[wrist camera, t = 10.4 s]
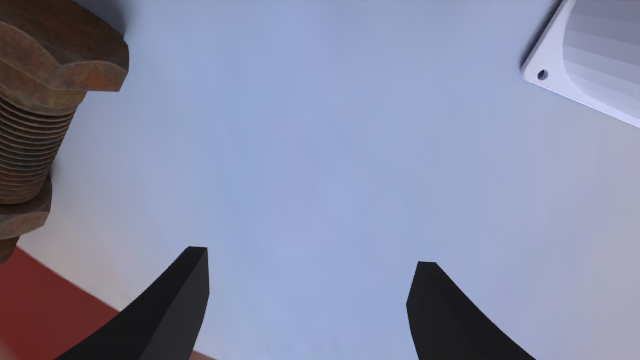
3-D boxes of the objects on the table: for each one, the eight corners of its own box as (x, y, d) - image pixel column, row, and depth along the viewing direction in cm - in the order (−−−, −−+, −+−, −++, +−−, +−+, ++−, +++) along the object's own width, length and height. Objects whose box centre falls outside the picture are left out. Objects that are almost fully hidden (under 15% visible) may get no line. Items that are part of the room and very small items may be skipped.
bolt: (9, 206, 25) (94, 0, 19) (55, 263, 24) (158, 67, 18) (-119, 233, 19) (-60, -41, 13) (-68, 308, 19) (21, 51, 13)
